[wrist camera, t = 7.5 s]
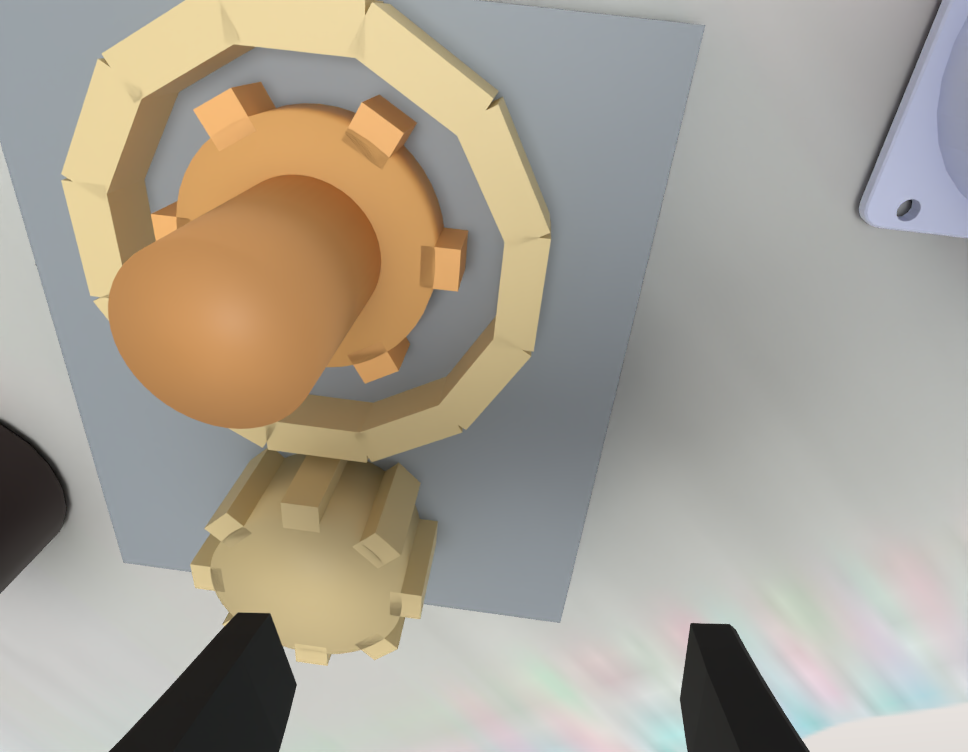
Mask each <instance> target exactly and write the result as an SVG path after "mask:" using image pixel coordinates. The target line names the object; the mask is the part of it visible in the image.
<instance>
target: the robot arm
mask: <svg viewBox="0 0 968 752" xmlns="http://www.w3.org/2000/svg"><path fill="white" fill-rule="evenodd" d="M907 200H912V207H911V209H910V210H909V211H908V213H906V214H905V215H903V216H899V217H897V209H898V208H899V206H900V205H901V204H902V203H903V202H905V201H907ZM859 213H860V217H861V218H862V219H863V220H864V221H865V222H866V223H868V224H869V225H871V226H874V227H877V228H884V229H893V230H901V231H910V232H918V233H926V234H935V235H943V236H952V237H960V238H968V0H942V2H941V5H940V7H939V10H938V12H937V15H936V17H935V20H934V22H933V24H932V27H931V29H930V32H929V34H928V37H927V39H926V42H925V44H924V47H923V49H922V51H921V54H920V56H919V59H918V61H917V64H916V66H915V69H914V71H913V74H912V76H911V78H910V81H909V83H908V86H907V88H906V91H905V93H904V96H903V98H902V101H901V103H900V105H899V108H898V110H897V113H896V115H895V118H894V120H893V123H892V125H891V128H890V130H889V132H888V135H887V137H886V140H885V142H884V145H883V147H882V150H881V152H880V155H879V157H878V159H877V162H876V164H875V167H874V169H873V172H872V174H871V177H870V179H869V182H868V184H867V186H866V189H865V191H864V194H863V196H862V199H861V201H860V206H859ZM296 686H297V684H296V681H295V679H294V676H293V673H292V670H291V668H290V665H289V662H288V660H287V657H286V654H285V652H284V649H283V646H282V643H281V641H280V638H279V635H278V633H277V630H276V627H275V625H274V622H273V619H272V616H271V614H270V613H243V612H238V613H237V614H236V615H235V616H234V617H233V618H232V619H231V620H230V621H229V622H228V623H227V624H226V625H225V626H224V628H223V629H222V630H221V631H220V632H219V633H218V634H217V635H216V636H215V638H214V639H213V640H212V641H211V642H210V643H209V644H208V645H207V646H206V648H205V649H204V650H203V651H202V652H201V653H200V654H199V655H198V656H197V658H196V659H195V660H194V661H193V662H192V663H191V664H190V665H189V667H188V668H187V669H186V670H185V671H184V672H183V673H182V674H181V675H180V676H179V678H178V679H177V680H176V681H175V682H174V683H173V684H172V685H171V686H170V688H169V689H168V690H167V691H166V692H165V693H164V694H163V695H162V696H161V697H160V698H159V699H158V700H157V702H156V703H155V704H154V705H153V706H152V707H151V708H150V709H149V710H148V711H147V712H146V713H145V714H144V715H143V717H142V718H141V719H140V720H139V721H138V722H137V723H136V724H135V725H134V726H133V727H132V728H131V729H130V730H129V732H128V733H127V734H126V735H125V736H124V737H123V738H122V739H121V740H120V741H119V742H118V743H117V744H116V745H115V746H114V747H113V748H112V749H111V750H110V751H109V752H279V749H280V746H281V743H282V739H283V736H284V732H285V728H286V725H287V721H288V717H289V714H290V710H291V706H292V702H293V698H294V694H295V690H296ZM680 703H681V710H682V717H683V724H684V731H685V738H686V744H687V750H688V752H810V751H809V750H808V748H807V747H806V745H805V744H804V742H803V741H802V739H801V738H800V736H799V735H798V733H797V732H796V730H795V729H794V727H793V726H792V724H791V722H790V721H789V719H788V718H787V716H786V715H785V713H784V711H783V710H782V708H781V707H780V705H779V703H778V702H777V700H776V699H775V697H774V695H773V694H772V692H771V691H770V689H769V687H768V686H767V684H766V682H765V681H764V679H763V677H762V676H761V674H760V672H759V671H758V669H757V667H756V665H755V664H754V662H753V660H752V658H751V657H750V655H749V653H748V651H747V650H746V648H745V646H744V644H743V642H742V641H741V639H740V637H739V635H738V633H737V631H736V629H734V628H733V627H732V626H731V625H730V624H700V623H691V624H690V631H689V638H688V646H687V653H686V660H685V667H684V674H683V681H682V688H681V696H680Z"/></svg>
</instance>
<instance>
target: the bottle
mask: <svg viewBox="0 0 968 752" xmlns="http://www.w3.org/2000/svg"><path fill="white" fill-rule="evenodd" d="M65 513H66V504H65V500H64V495H63V490H62V487H61V484H60V483H59V481H58V479H57V478H56V476H55V474H54V473H53V471H52V469H51V467H50V466H49V464H48V463H47V462H46V461H45V460H44V459H43V458H42V457H41V456H40V455H39V454H38V453H37V452H36V451H35V450H34V449H33V448H32V446H31V445H30V444H29V443H27V442H26V441H24V440H23V439H21V438H20V437H19V436H17V435H16V434H14V433H13V432H11V431H10V430H8V429H7V428H6V427H4V426H2V425H0V593H1V592H2V591H3V590H4V589H5V588H6V587H7V586H8V585H9V584H10V583H11V582H12V581H13V580H14V579H15V578H16V577H17V576H18V575H19V574H20V572H21V571H22V570H23V569H24V568H25V567H26V566H27V565H28V564H29V563H30V562H31V561H32V560H33V559H34V558H35V557H36V556H37V555H38V554H39V553H40V552H41V550H42V549H43V548H44V547H45V546H46V545H47V544H48V543H49V542H50V541H51V540H52V539H53V538H54V537H55V536H56V535H57V534H58V533H59V532H60V530H61V528H62V525H63V521H64V517H65Z"/></svg>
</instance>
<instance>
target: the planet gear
mask: <svg viewBox="0 0 968 752" xmlns="http://www.w3.org/2000/svg"><path fill="white" fill-rule="evenodd" d="M193 111H194V112H195V114H196V116H197V117H198V119H199V120H200V122H201V124H202V125H203V127H204V128H205V130H206V132H207V133H208V135H209V136H210V139H209V140H208V141H207V142H205V143H204V144H203V145H202V146H201V148H200V149H199V150H198V152H197V153H196V154H195V156H194V157H193V158H192V160H191V162H190V164H189V166H188V168H187V170H186V172H185V174H184V177H183V180H182V183H181V186H180V189H179V195H178V201H176V202H174V203H172V204H170V205H168V206H166V207H164V208H162V209H160V210H158V211H156V212H154V213H152V214H151V218H152V224H153V229H154V234H155V239H156V241H155V242H153V243H152V244H150V245H148V246H146V247H144V248H143V249H141V250H140V251H138V252H136V253H135V254H133V255H132V256H131V257H130V258H129V259H128V260H127V261H126V262H125V263H124V264H123V265H122V267H121V268H120V269H119V271H118V272H117V274H116V276H115V278H114V280H113V283H112V286H111V289H110V293H109V301H108V318H109V323H110V329H111V332H112V335H113V339H114V342H115V344H116V346H117V348H118V351H119V353H120V355H121V356H122V358H123V360H124V361H125V363H126V365H127V366H128V368H129V369H130V370H131V372H132V373H133V374H134V376H135V377H136V378H137V379H138V380H139V381H140V382H141V383H142V385H143V386H144V387H145V388H147V389H148V390H149V391H150V392H151V393H152V394H153V395H154V396H156V397H157V398H158V399H159V400H161V401H162V402H163V403H165V404H166V405H168V406H169V407H171V408H173V409H174V410H176V411H178V412H180V413H182V414H184V415H186V416H188V417H190V418H192V419H195V420H197V421H200V422H203V423H206V424H210V425H213V426H218V427H224V428H234V429H249V428H257V427H263V426H266V425H269V424H273V423H275V422H277V421H280V420H282V419H284V418H285V417H287V416H288V415H290V414H291V413H293V412H294V411H295V410H296V409H297V408H298V407H299V406H300V405H301V404H302V403H303V401H304V400H305V399H306V398H307V396H308V395H309V393H310V391H311V390H312V388H313V387H314V385H315V384H316V382H317V380H318V379H319V377H320V376H321V374H322V373H323V371H324V369H325V368H326V367H344V366H349V365H353V366H354V367H355V369H356V370H357V372H358V373H359V375H360V377H361V378H362V380H363V381H364V383H365V384H366V383H368V382H371V381H374V380H376V379H379V378H382V377H384V376H387V375H390V374H392V373H395V372H398V371H399V369H400V367H401V364H402V362H403V360H404V357H405V355H406V353H407V350H408V348H409V345H410V343H409V341H408V339H407V338H406V336H407V335H408V334H409V333H410V332H411V331H412V329H413V328H414V327H415V326H416V324H417V323H418V321H419V320H420V318H421V316H422V315H423V313H424V311H425V308H426V306H427V304H428V301H429V299H430V297H431V294H432V292H433V290H434V289H440V290H448V291H457V292H458V290H459V286H460V283H461V280H462V277H463V274H464V271H465V265H466V253H467V240H468V230H461V229H452V228H444V224H443V216H442V213H441V209H440V205H439V202H438V199H437V196H436V194H435V191H434V189H433V187H432V184H431V182H430V181H429V179H428V177H427V175H426V174H425V172H424V170H423V168H422V167H421V166H420V164H419V163H418V162H417V160H416V159H415V158H414V156H413V155H412V154H411V153H410V152H409V151H408V150H407V148H406V147H405V146H404V144H405V142H406V141H407V139H408V137H409V136H410V134H411V132H412V131H413V129H414V127H415V126H416V124H417V122H415V121H414V120H413V119H411V118H410V117H409V116H407V115H406V114H405V113H403V112H402V111H401V110H399V109H398V108H397V107H395V106H394V105H393V104H391V103H390V102H389V101H387V100H386V99H385V98H383V97H382V96H381V95H377V96H375V97H372V98H370V99H368V100H366V101H363V102H362V103H361V105H360V106H359V108H358V110H357V112H356V113H355V112H352V111H349V110H346V109H343V108H340V107H335V106H330V105H324V104H313V103H301V104H292V105H285V106H282V107H278V108H276V107H275V106H274V104H273V102H272V100H271V98H270V97H269V95H268V93H267V91H266V90H265V88H264V86H263V84H262V83H261V82H256V83H251V84H247V85H242V86H237V87H232V88H230V89H228V90H226V91H224V92H223V93H221V94H219V95H218V96H216V97H214V98H212V99H211V100H209V101H207V102H205V103H204V104H202V105H200V106H199V107H197V108H195V109H193Z"/></svg>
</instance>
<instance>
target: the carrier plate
mask: <svg viewBox="0 0 968 752" xmlns="http://www.w3.org/2000/svg"><path fill="white" fill-rule="evenodd" d="M704 28H705V25H699V24H690V23H681V22H672V21H663V20H654V19H644V18H635V17H626V16H617V15H608V14H599V13H590V12H581V11H572V10H563V9H553V8H544V7H535V6H526V5H517V4H508V3H499V2H490V1H481V0H0V143H1V146H2V150H3V153H4V156H5V160H6V163H7V167H8V170H9V173H10V177H11V180H12V184H13V187H14V190H15V194H16V197H17V201H18V204H19V207H20V211H21V214H22V218H23V221H24V225H25V228H26V231H27V235H28V238H29V242H30V245H31V248H32V252H33V255H34V259H35V262H36V265H37V269H38V272H39V276H40V279H41V283H42V286H43V289H44V293H45V296H46V300H47V303H48V306H49V310H50V313H51V317H52V320H53V323H54V327H55V330H56V334H57V337H58V340H59V344H60V347H61V351H62V354H63V358H64V361H65V364H66V368H67V371H68V375H69V378H70V381H71V385H72V388H73V392H74V395H75V398H76V402H77V405H78V409H79V412H80V416H81V419H82V422H83V426H84V429H85V433H86V436H87V439H88V443H89V446H90V450H91V453H92V456H93V460H94V463H95V467H96V470H97V473H98V477H99V480H100V484H101V487H102V491H103V494H104V497H105V501H106V504H107V508H108V511H109V514H110V518H111V521H112V525H113V528H114V531H115V535H116V538H117V542H118V545H119V549H120V552H121V555H122V559H123V562H124V563H129V564H137V565H144V566H151V567H158V568H166V569H173V570H180V571H187V572H192V576H193V580H194V585H195V588H199V589H206V590H213V591H215V592H216V594H217V596H218V598H219V599H220V601H221V602H222V604H223V605H224V606H225V608H226V609H227V610H228V611H229V613H228V615H227V617H226V619H225V620H224V622H223V625H224V626H225V625H226V624H227V623H228V622H229V621H230V620H231V619H232V618H233V617H234V616H235V615H236V614H237V613H238V612H243V613H270V614H271V616H272V619H273V622H274V625H275V627H276V630H277V633H278V635H279V638H280V641H281V643H282V646H285V647H288V648H291V649H295V653H296V661H297V662H304V663H311V664H318V665H325V666H327V665H328V662H329V660H330V657H331V654H341V653H349V652H354V651H358V650H362V651H363V652H365V653H366V654H367V655H369V656H370V657H371V658H373V659H374V660H376V659H378V658H380V657H382V656H384V655H386V654H388V653H390V652H392V651H394V650H397V649H398V645H399V641H400V637H401V633H402V629H403V624H404V620H405V617H408V618H415V619H420V618H421V613H422V608H423V604H427V605H434V606H441V607H448V608H456V609H463V610H470V611H477V612H485V613H492V614H499V615H507V616H514V617H521V618H528V619H536V620H543V621H550V622H557V623H560V621H561V617H562V613H563V609H564V605H565V601H566V596H567V592H568V588H569V584H570V580H571V576H572V572H573V568H574V564H575V559H576V555H577V551H578V547H579V543H580V539H581V535H582V531H583V526H584V522H585V518H586V514H587V510H588V506H589V502H590V498H591V494H592V489H593V485H594V481H595V477H596V473H597V469H598V465H599V461H600V456H601V452H602V448H603V444H604V440H605V436H606V432H607V428H608V423H609V419H610V415H611V411H612V407H613V403H614V399H615V395H616V391H617V386H618V382H619V378H620V374H621V370H622V366H623V362H624V358H625V353H626V349H627V345H628V341H629V337H630V333H631V329H632V325H633V320H634V316H635V312H636V308H637V304H638V300H639V296H640V292H641V288H642V283H643V279H644V275H645V271H646V267H647V263H648V259H649V255H650V250H651V246H652V242H653V238H654V234H655V230H656V226H657V222H658V218H659V213H660V209H661V205H662V201H663V197H664V193H665V189H666V185H667V180H668V176H669V172H670V168H671V164H672V160H673V156H674V152H675V147H676V143H677V139H678V135H679V131H680V127H681V123H682V119H683V115H684V110H685V106H686V102H687V98H688V94H689V90H690V86H691V82H692V77H693V73H694V69H695V65H696V61H697V57H698V53H699V49H700V44H701V40H702V36H703V32H704ZM256 82H261V83H262V84H263V86H264V88H265V90H266V91H267V93H268V95H269V97H270V98H271V100H272V102H273V104H274V106H275V107H276V108H278V107H282V106H285V105H292V104H301V103H313V104H324V105H330V106H335V107H340V108H343V109H346V110H349V111H352V112H355V113H356V112H357V110H358V108H359V106H360V105H361V103H362V102H363V101H366V100H368V99H370V98H372V97H375V96H377V95H381V96H382V97H383V98H385V99H386V100H387V101H389V102H390V103H391V104H393V105H394V106H395V107H397V108H398V109H399V110H401V111H402V112H403V113H405V114H406V115H407V116H409V117H410V118H411V119H413V120H414V121H415V122H417V124H416V126H415V127H414V129H413V131H412V132H411V134H410V136H409V137H408V139H407V141H406V142H405V144H404V146H405V147H406V148H407V150H408V151H409V152H410V153H411V154H412V155H413V156H414V158H415V159H416V160H417V162H418V163H419V164H420V166H421V167H422V168H423V170H424V172H425V174H426V175H427V177H428V179H429V181H430V182H431V184H432V187H433V189H434V191H435V194H436V196H437V199H438V202H439V205H440V209H441V213H442V216H443V224H444V228H452V229H461V230H468V240H467V253H466V265H465V271H464V274H463V277H462V280H461V283H460V286H459V290H458V292H457V291H448V290H440V289H434V290H433V292H432V294H431V297H430V299H429V301H428V304H427V306H426V308H425V311H424V313H423V315H422V316H421V318H420V320H419V321H418V323H417V324H416V326H415V327H414V328H413V329H412V331H411V332H410V333H409V334H408V335H407V336H406V338H407V339H408V341H409V343H410V345H409V348H408V350H407V353H406V355H405V357H404V360H403V362H402V364H401V367H400V369H399V371H398V372H395V373H392V374H390V375H387V376H384V377H382V378H379V379H376V380H374V381H371V382H368V383H366V384H365V383H364V381H363V380H362V378H361V377H360V375H359V373H358V372H357V370H356V369H355V367H354V366H353V365H349V366H344V367H326V368H325V369H324V371H323V373H322V374H321V376H320V377H319V379H318V380H317V382H316V384H315V385H314V387H313V388H312V390H311V391H310V393H309V395H308V396H307V398H306V399H305V400H304V401H303V403H302V404H301V405H300V406H299V407H298V408H297V409H296V410H295V411H294V412H293V413H291V414H290V415H288V416H287V417H285V418H284V419H282V420H280V421H277V422H275V423H273V424H269V425H266V426H263V427H257V428H249V429H234V428H224V427H218V426H213V425H210V424H206V423H203V422H200V421H197V420H195V419H192V418H190V417H188V416H186V415H184V414H182V413H180V412H178V411H176V410H174V409H173V408H171V407H169V406H168V405H166V404H165V403H163V402H162V401H161V400H159V399H158V398H157V397H156V396H154V395H153V394H152V393H151V392H150V391H149V390H148V389H147V388H145V387H144V386H143V385H142V383H141V382H140V381H139V380H138V379H137V378H136V377H135V376H134V374H133V373H132V372H131V370H130V369H129V368H128V366H127V365H126V363H125V361H124V360H123V358H122V356H121V355H120V353H119V351H118V348H117V346H116V344H115V342H114V339H113V335H112V332H111V329H110V323H109V318H108V301H109V293H110V289H111V286H112V283H113V280H114V278H115V276H116V274H117V272H118V271H119V269H120V268H121V267H122V265H123V264H124V263H125V262H126V261H127V260H128V259H129V258H130V257H131V256H132V255H133V254H135V253H136V252H138V251H140V250H141V249H143V248H144V247H146V246H148V245H150V244H152V243H153V242H155V241H156V239H155V234H154V229H153V224H152V218H151V214H152V213H154V212H156V211H158V210H160V209H162V208H164V207H166V206H168V205H170V204H172V203H174V202H176V201H178V195H179V189H180V186H181V183H182V180H183V177H184V174H185V172H186V170H187V168H188V166H189V164H190V162H191V160H192V158H193V157H194V156H195V154H196V153H197V152H198V150H199V149H200V148H201V146H202V145H203V144H204V143H205V142H207V141H208V140H209V139H210V136H209V135H208V133H207V132H206V130H205V128H204V127H203V125H202V124H201V122H200V120H199V119H198V117H197V116H196V114H195V112H194V111H193V109H195V108H197V107H199V106H200V105H202V104H204V103H205V102H207V101H209V100H211V99H212V98H214V97H216V96H218V95H219V94H221V93H223V92H224V91H226V90H228V89H230V88H232V87H237V86H242V85H247V84H251V83H256Z"/></svg>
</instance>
